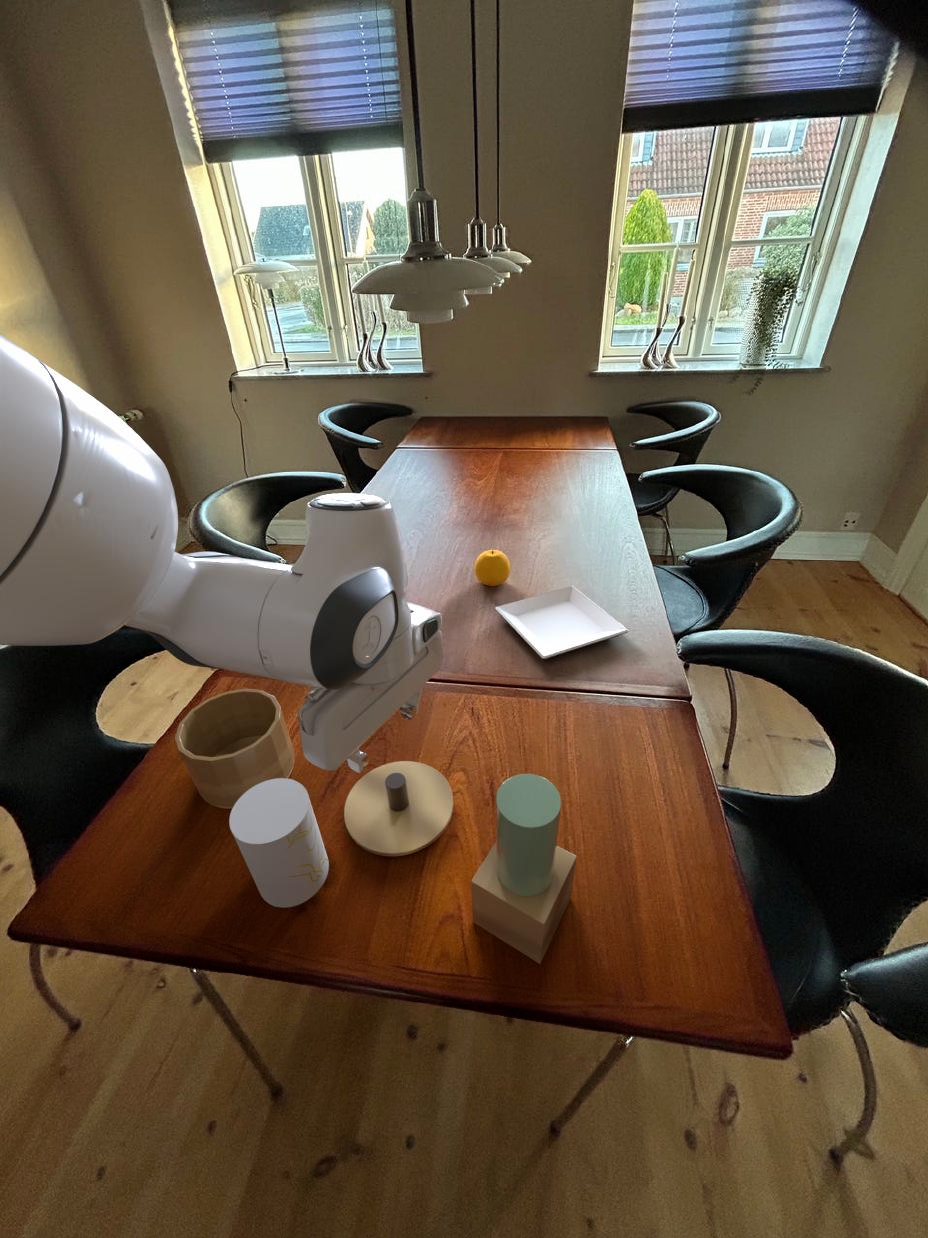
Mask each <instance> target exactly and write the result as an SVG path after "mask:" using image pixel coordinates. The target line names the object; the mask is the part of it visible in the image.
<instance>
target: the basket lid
mask: <svg viewBox="0 0 928 1238" xmlns="http://www.w3.org/2000/svg"><path fill="white" fill-rule="evenodd" d="M453 813H454V795H453V791H452V787H451V786H450V783H449V781H448V780H447V779H446V777H445V776H444V775H443V774H442V773H441V772H439V771H438V770H437V769H435V768H434V767H432V766H430V765H428V764H425V763H422V762H417V761H411V760H404V761H403V760H399V761H391V762H389V763H384V764H382V765H379V766H378V767H376V768H373V769H372V770H370V771H368V772H367V773H366V774H363V776H362V777H361V778H360V779H359V780H357V782H356V783H354V785H353V786H352V788H351V789H350V791H349V793H348V794H347V797H346V799H345V803H344V808H343V819H344V825H345V827H346V830H347V832H348V834H349V836H350V837H351V839H352V840H353V841H354V842H355V843H356V845H358V846H359V847H360V848H362V849H364V850H365V851H367V852H368V853H372V854H375V855H377V856H383V857H401V856H408V855H411V854H414V853H417V852H419V851H421V850H423V849H425V848H427V847H428V846H430V845H432V844H433V843H434V842H436V840H438V838H439V837H440V836H442V834H443V833H444V832H445V830H446V829H447V827H448V826H449V823H450V822H451V819H452V817H453Z"/></svg>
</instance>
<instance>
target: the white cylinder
mask: <svg viewBox="0 0 928 1238" xmlns="http://www.w3.org/2000/svg"><path fill="white" fill-rule="evenodd" d="M228 820H229V828H230V831H231V833H232V836H233V838H234V840H235V842H236V844H237V846H238V848H239V850H240V853H241V855H242V857H243V859H244V862H245V864H246V866H247V868H248V870H249V873H250V874H251V876H252V879H253V881H254V884H255V886H256V888H257V890H258V892H259V894H260V896H261V898H262V899H263V900H264V901H265V903H267V904H269V905H270V906H273V907H275V908H284V909H285V908H291V907H296V906H299V905H302V904H303V903H305V902H307V901H308V900H310V899H311V898H313V897H314V896H315V895H316V894H317V893H318V892H319V891H320V890H321V888H322V887H323V885H324V884H325V882H326V880H327V877H328V875H329V870H330V861H329V858H328V854H327V850H326V847H325V843H324V841H323V838H322V835H321V831H320V828H319V825H318V822H317V819H316V815H315V812H314V809H313V805H312V802H311V798H310V796H309V792H308V790H307V789H306V787H305V786H304V785H303V784H302V783H300V782H298V781H297V780H294V779H292V778H288V779H286V778H278V779H271V780H267V781H264V782H262V783H260V784H257V785H256V786H254V787H252V788H251V789H249V790H248V791H247V792H245V793H244V794H243V795H242V796H241V797H240V798H239V799H238V801H237V802H236V803H235V805H234V807H233V808H231V811H230V815H229V819H228Z"/></svg>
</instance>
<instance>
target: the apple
mask: <svg viewBox="0 0 928 1238" xmlns="http://www.w3.org/2000/svg"><path fill="white" fill-rule="evenodd" d="M473 571H474V574H475V575H474V576H475V577H476V579H477V580H478V581H479V582H480V583H481V584H483V585H485V586H489V587H495V586H496V587H497V586H500V585H502V584H503V583H505V582H506V581H507V580H508V578H509V577H510V574H511V562H510V560H509V558H508V556H507V555H506V554H505V553H503V552H502V551H500V550H497V549H488V550H485V551H483V552H482V553H480V554H479V556H478V557H477V558H476V559H475V562H474V570H473Z"/></svg>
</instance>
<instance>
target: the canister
mask: <svg viewBox="0 0 928 1238" xmlns="http://www.w3.org/2000/svg"><path fill="white" fill-rule="evenodd" d="M558 790H559V789H557V787H556V786H555V785H554V784H553V783H552V782H551V781H549V780H548V779H547V778H545V777H543V776H540V775H537V774H534V773H520V774H515V775H513V776H510V777H508V778H507V779H506V780H504V781H503V782H502V783H501V785H500V786H499V788H498V790H497V792H496V799H495V803H496V807H495V808H496V809H495V810H496V811H495V812H496V813H495V814H496V817H495V819H496V820H495V823H496V824H495V825H496V828H495V829H496V830H495V831H496V832H495V833H496V834H495V837H496V838H495V839H496V840H495V843H496V869H497V875H498V878H499V880H500V882H501V883H502V884H503V886H504V887H505V888H506V889H508V890H509V891H510V892H512V893H514V894H516V895H519V896H526V897H527V896H535V895H538V894H540V893H542V892H543V891H545V890H546V889H547V888H548V887H549V885H550V884H551V882H552V879H553V875H554V866H555V856H556V847H557V846H558V837H559V827H560V818H561V809H562V799H561V795H560V792H559V791H558Z"/></svg>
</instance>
